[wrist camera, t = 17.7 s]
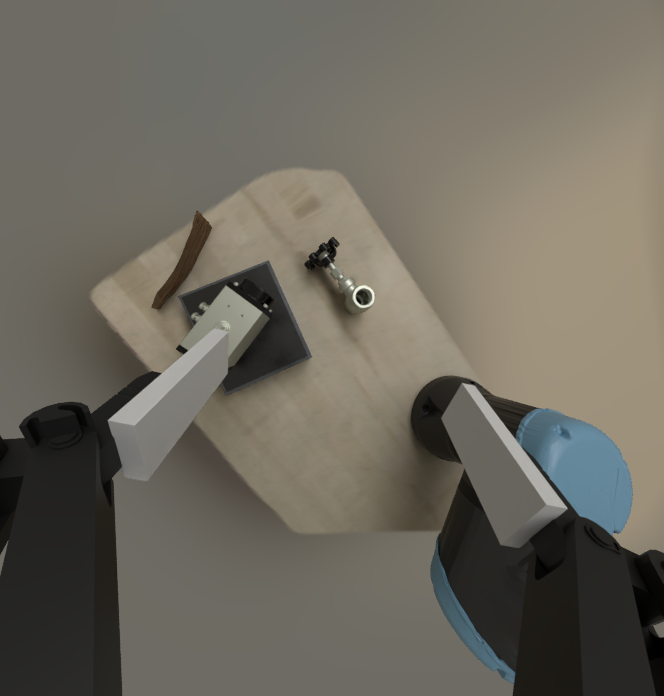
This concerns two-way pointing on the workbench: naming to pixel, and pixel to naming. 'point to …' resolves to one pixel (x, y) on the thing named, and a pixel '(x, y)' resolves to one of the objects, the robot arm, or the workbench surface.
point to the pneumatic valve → (232, 318)
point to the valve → (342, 278)
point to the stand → (274, 338)
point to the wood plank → (185, 259)
